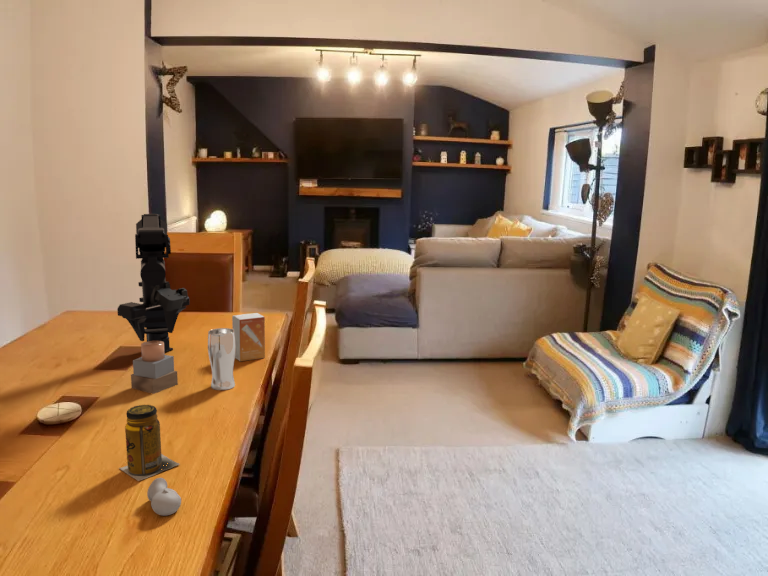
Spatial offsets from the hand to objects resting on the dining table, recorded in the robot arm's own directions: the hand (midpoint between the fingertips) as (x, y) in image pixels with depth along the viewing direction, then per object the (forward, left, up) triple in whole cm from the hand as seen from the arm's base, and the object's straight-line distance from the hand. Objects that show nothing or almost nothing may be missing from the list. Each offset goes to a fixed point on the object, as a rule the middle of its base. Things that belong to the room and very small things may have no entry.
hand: (156, 336), depth 157 cm
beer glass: (+16, +7, -13) cm, 22 cm away
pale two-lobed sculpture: (+48, -41, -13) cm, 65 cm away
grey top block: (+1, -2, -9) cm, 9 cm away
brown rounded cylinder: (+1, -2, -5) cm, 6 cm away
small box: (+5, +30, -13) cm, 33 cm away
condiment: (+35, -33, -13) cm, 50 cm away
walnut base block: (+1, -2, -13) cm, 13 cm away
